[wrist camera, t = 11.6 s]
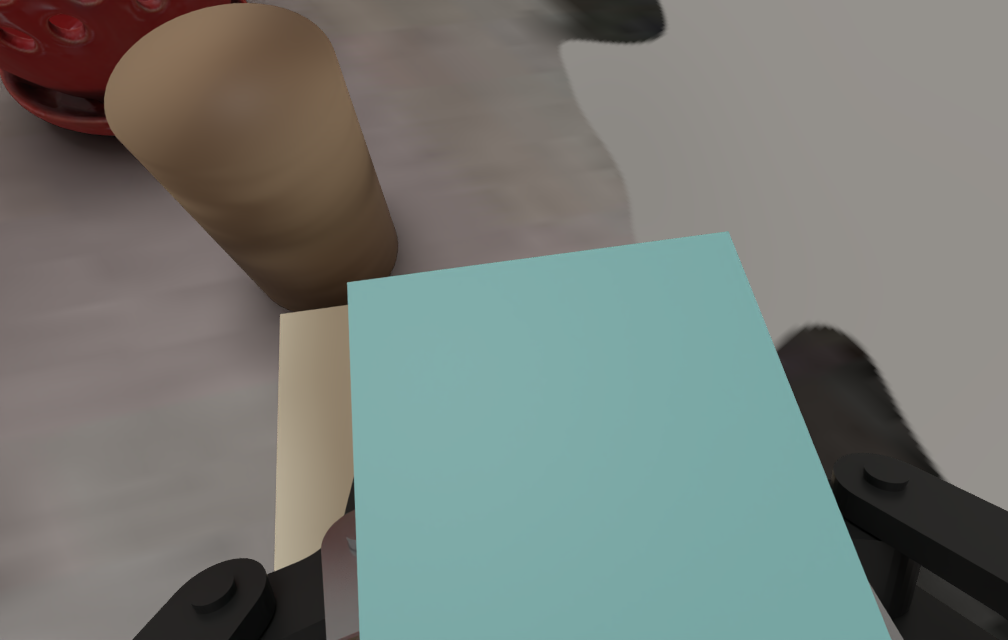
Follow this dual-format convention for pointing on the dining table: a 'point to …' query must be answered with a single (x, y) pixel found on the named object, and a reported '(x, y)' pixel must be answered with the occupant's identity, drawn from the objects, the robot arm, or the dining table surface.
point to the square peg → (589, 457)
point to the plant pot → (75, 52)
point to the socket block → (312, 430)
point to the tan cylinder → (258, 147)
